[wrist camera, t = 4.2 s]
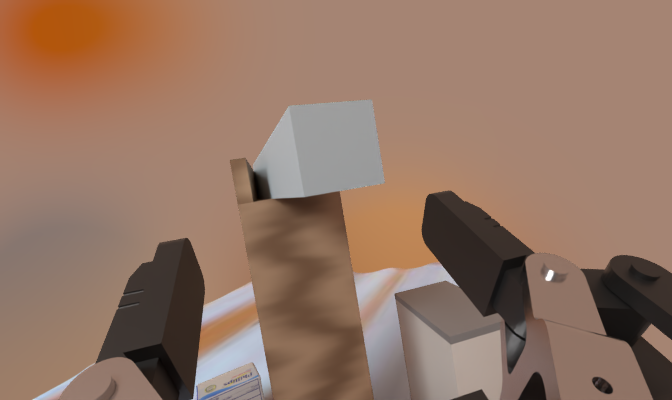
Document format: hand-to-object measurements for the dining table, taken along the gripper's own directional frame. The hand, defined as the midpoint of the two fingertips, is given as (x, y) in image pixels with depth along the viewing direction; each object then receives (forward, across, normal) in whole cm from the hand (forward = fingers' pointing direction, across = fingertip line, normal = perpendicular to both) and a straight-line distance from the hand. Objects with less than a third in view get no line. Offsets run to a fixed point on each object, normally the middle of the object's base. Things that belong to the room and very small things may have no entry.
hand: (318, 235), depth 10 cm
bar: (+12, 0, +5) cm, 13 cm away
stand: (0, 0, +36) cm, 36 cm away
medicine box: (+13, +11, +44) cm, 47 cm away
